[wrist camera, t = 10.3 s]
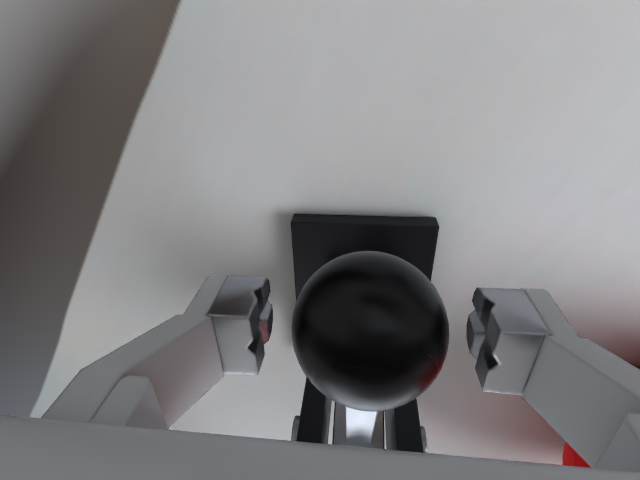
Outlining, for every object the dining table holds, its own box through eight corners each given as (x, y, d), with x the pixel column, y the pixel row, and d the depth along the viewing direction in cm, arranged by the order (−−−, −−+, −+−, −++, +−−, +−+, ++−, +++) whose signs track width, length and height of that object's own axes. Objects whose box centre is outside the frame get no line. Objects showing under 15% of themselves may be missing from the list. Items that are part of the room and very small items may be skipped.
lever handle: (294, 216, 9) (266, 368, 6) (453, 221, 8) (483, 384, 6) (323, 403, 20) (317, 483, 17) (393, 408, 19) (396, 492, 17)
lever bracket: (293, 213, 24) (233, 373, 13) (436, 217, 23) (500, 392, 12) (302, 346, 30) (265, 533, 19) (415, 354, 29) (446, 554, 18)
